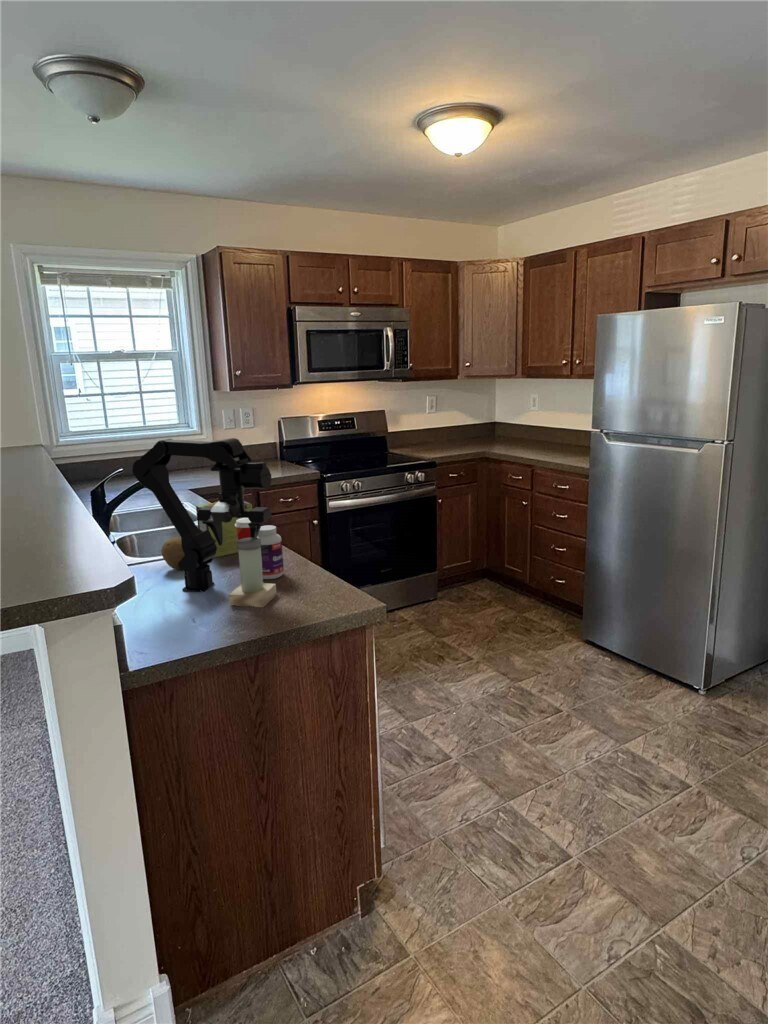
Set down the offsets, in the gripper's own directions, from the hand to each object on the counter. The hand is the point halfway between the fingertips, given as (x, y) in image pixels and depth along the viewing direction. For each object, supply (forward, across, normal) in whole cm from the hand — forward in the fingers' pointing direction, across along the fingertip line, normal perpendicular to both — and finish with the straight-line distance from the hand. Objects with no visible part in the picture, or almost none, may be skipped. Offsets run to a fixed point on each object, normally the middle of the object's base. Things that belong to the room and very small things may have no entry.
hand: (236, 545), depth 166 cm
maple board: (+13, +6, -5) cm, 15 cm away
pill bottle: (+13, +3, +13) cm, 19 cm away
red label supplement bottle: (+13, -7, +22) cm, 27 cm away
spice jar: (+10, +6, -5) cm, 13 cm away
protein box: (+13, -21, +35) cm, 43 cm away
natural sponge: (+13, -27, +15) cm, 34 cm away
